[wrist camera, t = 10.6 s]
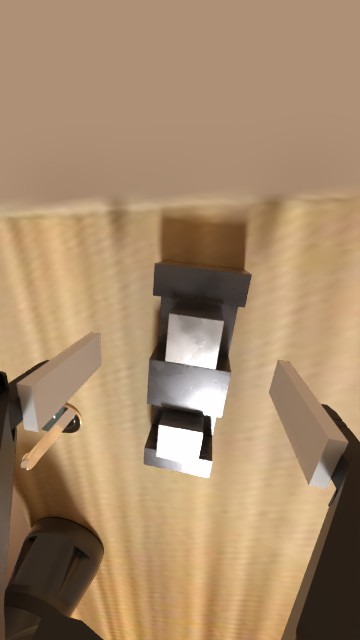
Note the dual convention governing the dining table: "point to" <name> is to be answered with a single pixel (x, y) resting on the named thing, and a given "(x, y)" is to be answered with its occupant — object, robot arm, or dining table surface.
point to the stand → (53, 434)
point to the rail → (187, 380)
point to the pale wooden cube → (194, 333)
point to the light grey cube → (180, 435)
